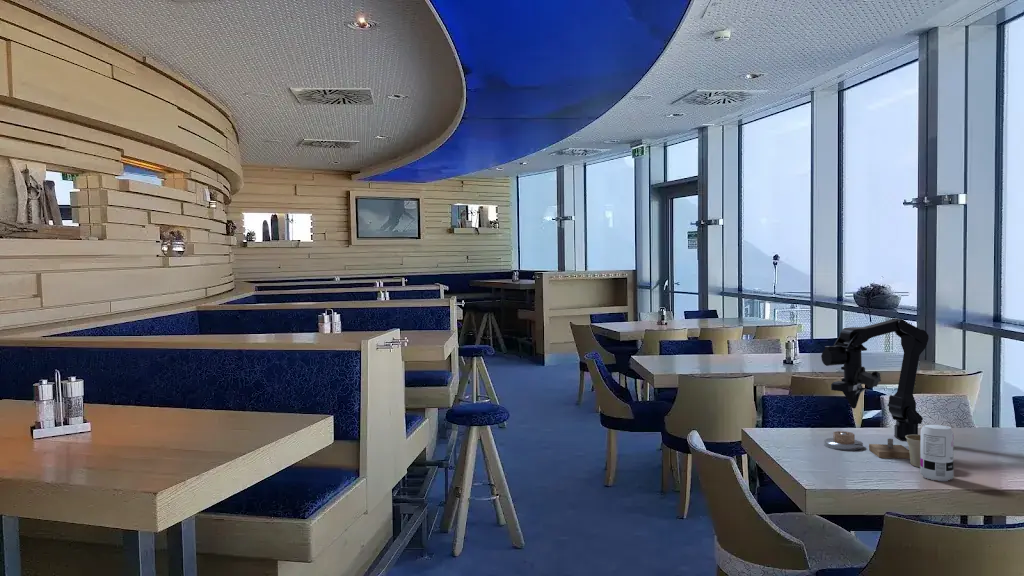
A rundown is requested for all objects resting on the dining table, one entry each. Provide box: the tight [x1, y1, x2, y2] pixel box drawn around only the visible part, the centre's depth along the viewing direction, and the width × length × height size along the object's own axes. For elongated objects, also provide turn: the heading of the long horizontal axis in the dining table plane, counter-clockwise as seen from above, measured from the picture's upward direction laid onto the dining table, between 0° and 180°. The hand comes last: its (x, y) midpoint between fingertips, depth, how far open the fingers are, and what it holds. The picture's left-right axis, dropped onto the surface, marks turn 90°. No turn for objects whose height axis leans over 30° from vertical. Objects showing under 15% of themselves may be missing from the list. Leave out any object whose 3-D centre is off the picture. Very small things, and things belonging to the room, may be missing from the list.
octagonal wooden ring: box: [832, 430, 856, 444], centre depth 242 cm, size 6×6×3 cm
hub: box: [823, 433, 864, 452], centre depth 243 cm, size 12×12×4 cm
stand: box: [868, 438, 910, 460], centre depth 232 cm, size 10×10×5 cm
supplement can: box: [919, 423, 955, 482], centre depth 205 cm, size 8×8×15 cm
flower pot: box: [905, 434, 921, 468], centre depth 218 cm, size 9×9×9 cm
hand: (853, 408), depth 248 cm, fingers closed
